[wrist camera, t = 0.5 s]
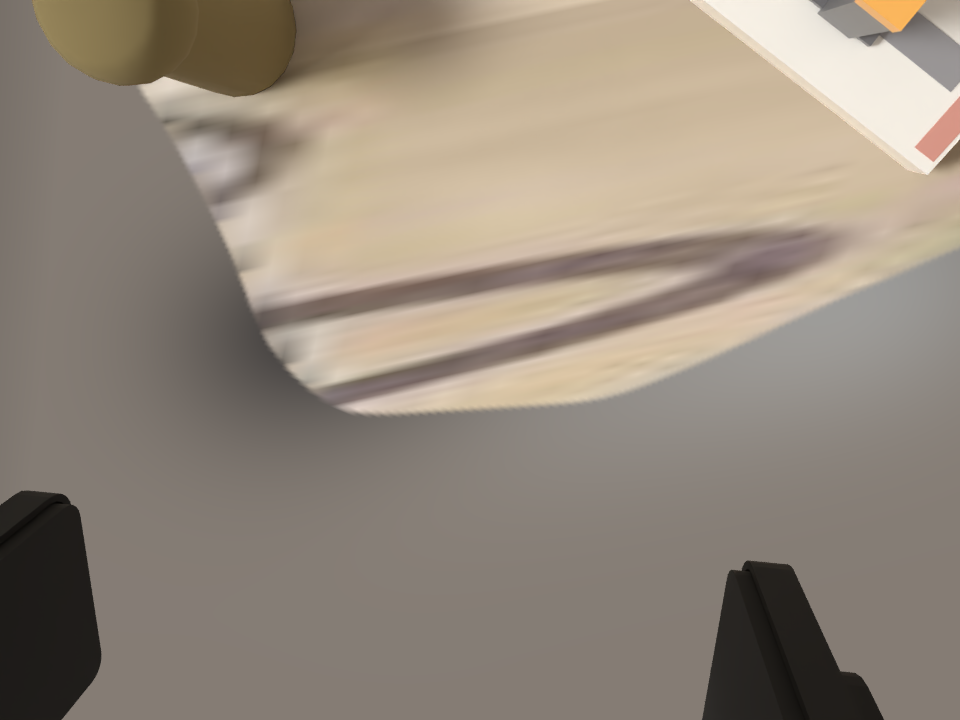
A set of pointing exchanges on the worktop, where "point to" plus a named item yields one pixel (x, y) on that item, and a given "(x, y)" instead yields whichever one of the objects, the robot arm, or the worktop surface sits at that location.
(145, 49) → the cork
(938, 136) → the breaker panel
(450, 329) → the worktop surface
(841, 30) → the breaker
